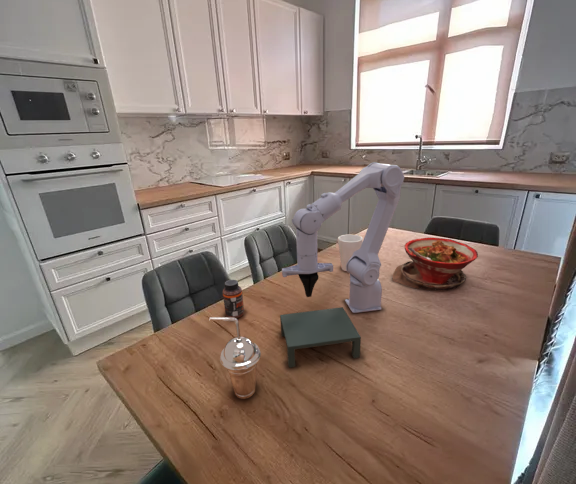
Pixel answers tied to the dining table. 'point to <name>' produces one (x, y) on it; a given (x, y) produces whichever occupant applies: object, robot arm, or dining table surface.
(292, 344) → the bench
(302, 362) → the dining table surface
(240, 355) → the cup with straw
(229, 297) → the supplement bottle
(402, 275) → the stew
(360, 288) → the robot arm
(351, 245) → the foam cup
